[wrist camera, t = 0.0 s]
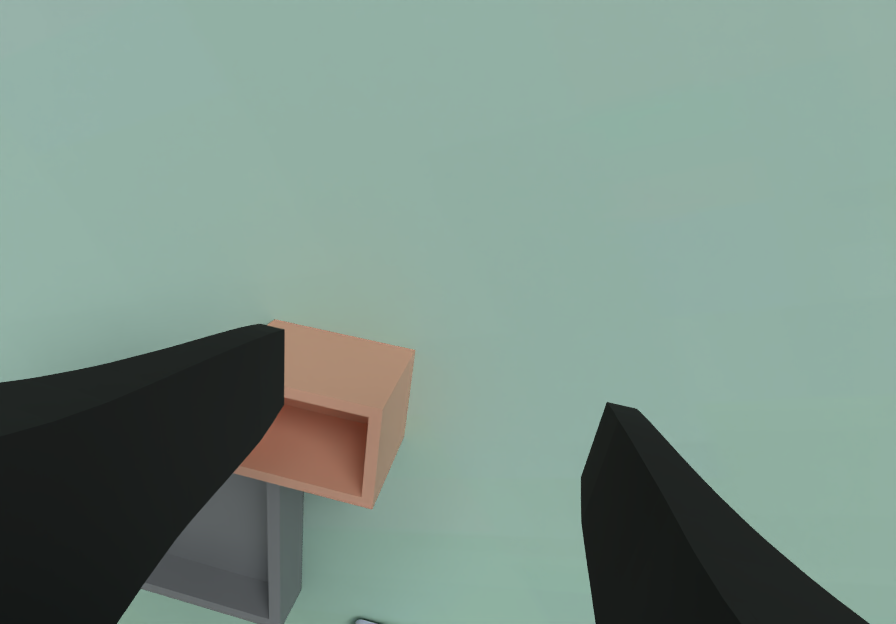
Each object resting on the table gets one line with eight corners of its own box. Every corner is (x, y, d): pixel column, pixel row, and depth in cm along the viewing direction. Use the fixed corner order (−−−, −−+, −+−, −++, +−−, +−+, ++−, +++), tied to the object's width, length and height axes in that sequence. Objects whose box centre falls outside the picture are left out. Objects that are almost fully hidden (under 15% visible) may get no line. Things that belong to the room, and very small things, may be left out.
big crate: (301, 589, 30) (280, 630, 27) (126, 539, 31) (92, 574, 29) (304, 433, 25) (279, 466, 22) (96, 382, 26) (52, 408, 24)
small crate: (404, 434, 24) (372, 509, 19) (276, 404, 24) (216, 468, 20) (416, 348, 22) (382, 409, 17) (275, 318, 22) (208, 368, 18)
